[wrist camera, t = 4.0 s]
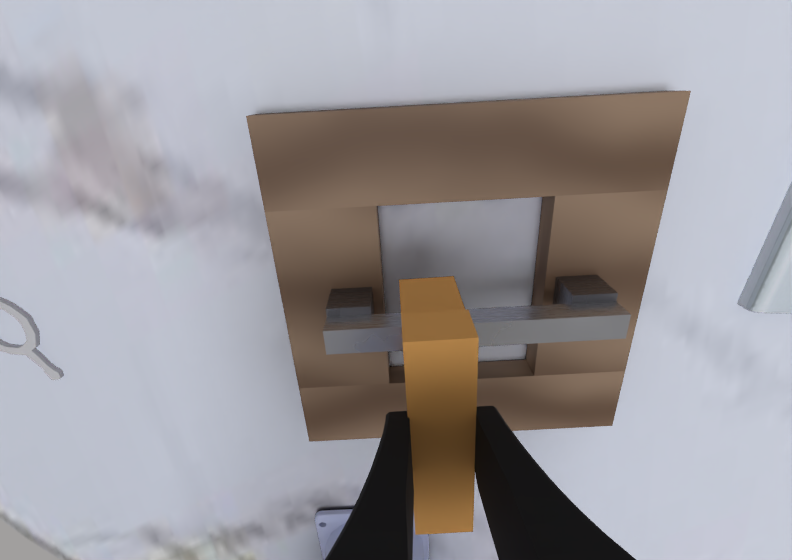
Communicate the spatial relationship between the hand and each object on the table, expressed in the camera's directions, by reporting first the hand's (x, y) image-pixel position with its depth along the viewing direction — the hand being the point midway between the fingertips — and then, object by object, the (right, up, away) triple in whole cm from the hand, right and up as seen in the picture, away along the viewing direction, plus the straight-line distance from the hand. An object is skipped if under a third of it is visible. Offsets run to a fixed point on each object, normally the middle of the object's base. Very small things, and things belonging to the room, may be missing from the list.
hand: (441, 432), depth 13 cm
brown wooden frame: (+2, +4, +9) cm, 10 cm away
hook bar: (+2, +4, +8) cm, 9 cm away
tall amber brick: (0, +2, +4) cm, 4 cm away
